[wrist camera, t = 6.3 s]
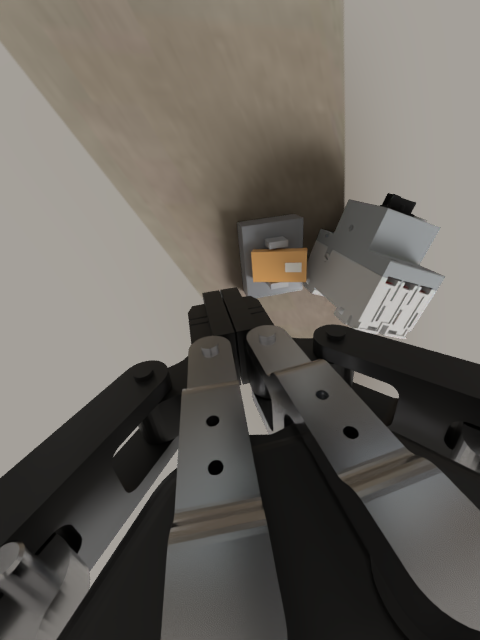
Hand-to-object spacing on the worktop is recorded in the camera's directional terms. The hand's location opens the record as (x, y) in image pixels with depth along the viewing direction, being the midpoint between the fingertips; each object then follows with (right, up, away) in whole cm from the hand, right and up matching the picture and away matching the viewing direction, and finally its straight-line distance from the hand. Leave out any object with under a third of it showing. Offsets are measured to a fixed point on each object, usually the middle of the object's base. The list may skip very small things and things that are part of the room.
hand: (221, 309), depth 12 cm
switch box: (+5, +9, +28) cm, 30 cm away
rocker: (+6, +7, +25) cm, 26 cm away
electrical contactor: (+15, +11, +29) cm, 35 cm away
